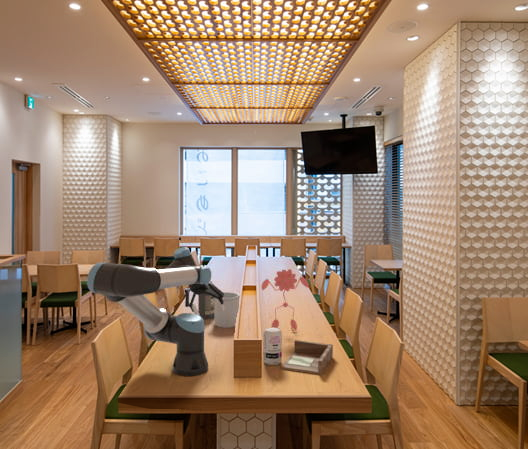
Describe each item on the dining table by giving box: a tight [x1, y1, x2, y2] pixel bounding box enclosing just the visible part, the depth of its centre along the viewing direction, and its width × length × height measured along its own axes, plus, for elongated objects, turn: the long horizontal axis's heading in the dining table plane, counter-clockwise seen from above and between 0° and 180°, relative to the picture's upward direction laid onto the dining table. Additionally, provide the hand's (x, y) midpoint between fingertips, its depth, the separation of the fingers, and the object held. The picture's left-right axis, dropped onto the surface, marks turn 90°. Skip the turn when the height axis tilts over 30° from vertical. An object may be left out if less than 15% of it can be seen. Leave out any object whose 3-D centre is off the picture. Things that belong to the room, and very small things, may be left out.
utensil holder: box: [213, 291, 241, 329], centre depth 262 cm, size 15×15×18 cm
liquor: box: [197, 267, 214, 320], centre depth 277 cm, size 9×9×30 cm
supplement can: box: [262, 326, 283, 366], centre depth 203 cm, size 8×8×15 cm
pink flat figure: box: [261, 268, 310, 332], centre depth 246 cm, size 15×26×35 cm, turn 94°
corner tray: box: [280, 339, 334, 376], centre depth 203 cm, size 22×18×6 cm
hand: (210, 312), depth 223 cm, fingers open, 13 cm apart
